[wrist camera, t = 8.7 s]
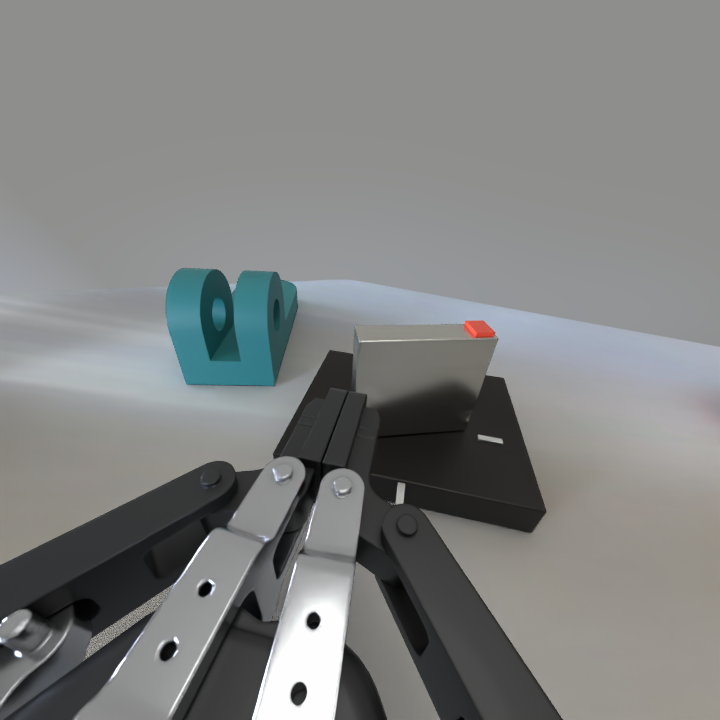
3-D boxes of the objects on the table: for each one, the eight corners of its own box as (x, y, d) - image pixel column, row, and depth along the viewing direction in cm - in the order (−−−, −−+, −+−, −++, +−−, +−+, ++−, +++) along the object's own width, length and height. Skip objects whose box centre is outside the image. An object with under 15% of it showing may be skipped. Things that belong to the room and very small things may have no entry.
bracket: (274, 385, 24) (262, 291, 20) (186, 384, 24) (154, 287, 19) (300, 297, 39) (297, 232, 35) (246, 295, 39) (236, 228, 34)
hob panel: (262, 501, 16) (257, 477, 15) (329, 368, 27) (329, 347, 25) (540, 567, 14) (560, 545, 13) (496, 397, 25) (504, 376, 24)
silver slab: (352, 438, 18) (359, 336, 14) (349, 419, 19) (354, 320, 15) (466, 430, 19) (501, 333, 15) (455, 411, 20) (485, 319, 16)
